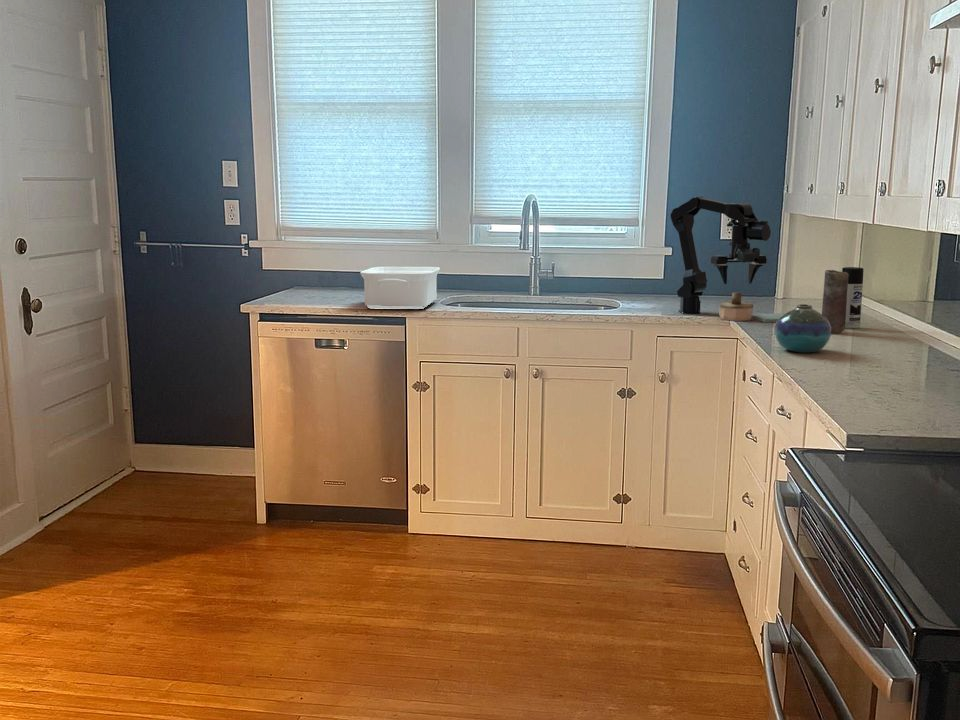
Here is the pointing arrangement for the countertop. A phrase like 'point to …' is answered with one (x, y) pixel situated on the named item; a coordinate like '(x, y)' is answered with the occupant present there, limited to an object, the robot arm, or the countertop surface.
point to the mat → (767, 317)
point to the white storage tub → (400, 286)
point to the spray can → (854, 297)
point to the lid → (736, 302)
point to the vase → (803, 330)
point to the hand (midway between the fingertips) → (737, 284)
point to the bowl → (736, 314)
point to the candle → (835, 299)
